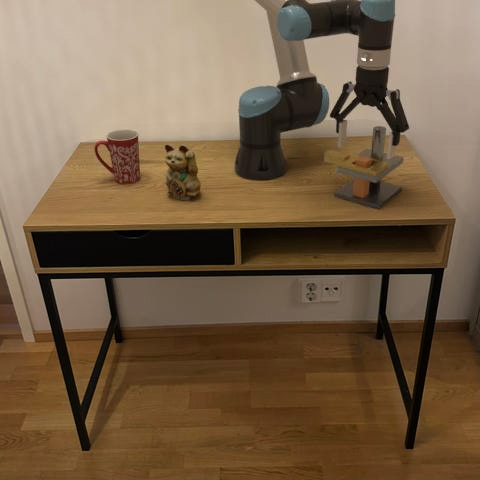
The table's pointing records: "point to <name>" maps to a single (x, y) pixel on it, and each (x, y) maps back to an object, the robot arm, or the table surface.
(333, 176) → the table surface
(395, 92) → the robot arm
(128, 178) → the mug
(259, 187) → the table surface
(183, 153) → the decorative figurine
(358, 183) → the wedge pin
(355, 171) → the grey and yellow stand
